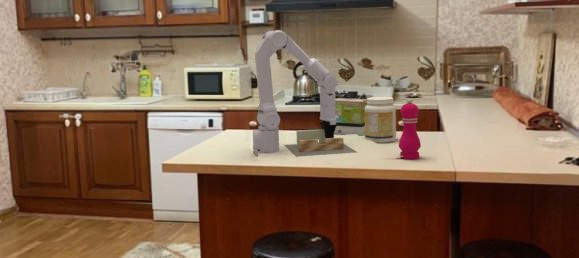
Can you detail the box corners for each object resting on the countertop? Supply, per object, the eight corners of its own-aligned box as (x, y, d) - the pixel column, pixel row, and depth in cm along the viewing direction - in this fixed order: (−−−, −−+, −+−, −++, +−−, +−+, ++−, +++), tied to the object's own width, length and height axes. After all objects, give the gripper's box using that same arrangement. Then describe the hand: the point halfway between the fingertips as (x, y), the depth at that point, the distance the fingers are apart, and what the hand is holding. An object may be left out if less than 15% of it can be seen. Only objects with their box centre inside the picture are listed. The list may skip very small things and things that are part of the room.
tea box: (328, 134, 244) (328, 100, 242) (338, 130, 253) (337, 97, 251) (361, 136, 237) (361, 100, 235) (370, 132, 246) (369, 98, 244)
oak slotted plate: (300, 152, 202) (299, 140, 201) (299, 151, 203) (298, 140, 203) (343, 149, 205) (343, 138, 204) (342, 148, 206) (342, 137, 206)
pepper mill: (405, 154, 197) (405, 97, 194) (424, 156, 192) (424, 97, 189) (394, 158, 191) (394, 99, 188) (414, 160, 187) (414, 100, 183)
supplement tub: (373, 137, 233) (373, 95, 231) (401, 139, 227) (401, 96, 224) (359, 142, 223) (359, 99, 221) (388, 144, 217) (387, 100, 214)
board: (296, 159, 195) (296, 156, 194) (283, 147, 217) (283, 144, 217) (357, 155, 199) (357, 152, 198) (339, 143, 221) (339, 141, 221)
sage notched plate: (297, 147, 211) (297, 131, 210) (296, 146, 212) (296, 130, 211) (334, 144, 213) (334, 129, 212) (333, 144, 215) (332, 128, 214)
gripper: (343, 106, 205) (344, 143, 207) (333, 102, 219) (333, 137, 221) (324, 107, 204) (325, 145, 206) (315, 103, 218) (316, 138, 220)
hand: (328, 141), depth 214 cm, fingers closed on sage notched plate, 2 cm apart
